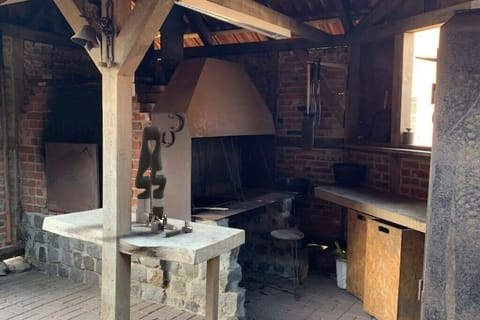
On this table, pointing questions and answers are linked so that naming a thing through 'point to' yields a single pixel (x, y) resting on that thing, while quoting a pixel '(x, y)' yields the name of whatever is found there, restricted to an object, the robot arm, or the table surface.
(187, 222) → the ratchet
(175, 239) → the table surface
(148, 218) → the wrench
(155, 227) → the socket
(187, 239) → the table surface
